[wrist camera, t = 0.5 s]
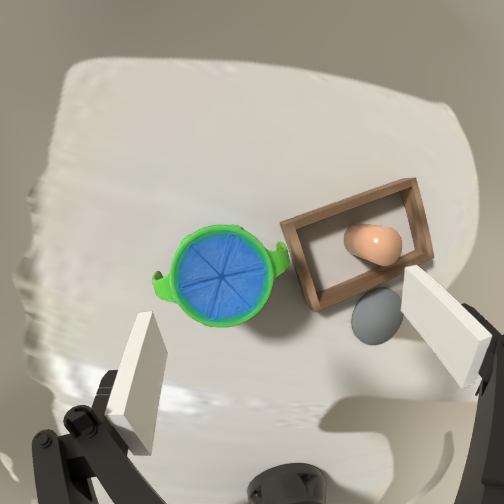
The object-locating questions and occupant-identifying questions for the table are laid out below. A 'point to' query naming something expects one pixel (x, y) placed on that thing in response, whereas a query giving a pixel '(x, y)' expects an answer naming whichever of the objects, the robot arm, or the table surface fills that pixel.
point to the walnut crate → (371, 277)
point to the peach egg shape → (373, 243)
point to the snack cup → (221, 275)
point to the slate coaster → (377, 316)
